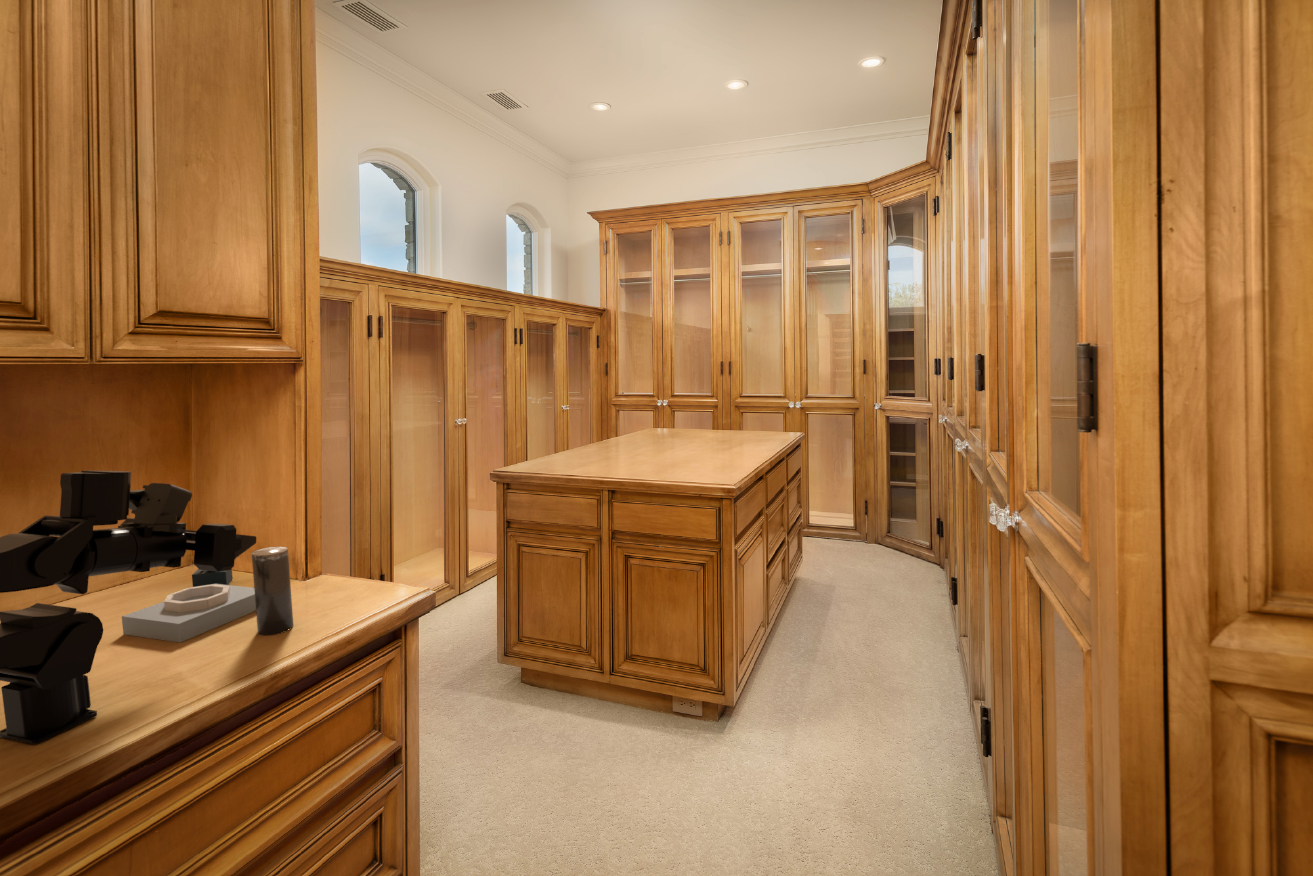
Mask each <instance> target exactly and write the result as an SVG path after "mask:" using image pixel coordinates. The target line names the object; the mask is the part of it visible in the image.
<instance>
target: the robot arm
mask: <svg viewBox="0 0 1313 876" xmlns="http://www.w3.org/2000/svg"><path fill="white" fill-rule="evenodd" d="M59 482H60V483H59V485H60V489H61V494H60V506H59V507H60V509H59V515H49V514H48V515H43V516H42V517H40V518H39V519H37V520H36V521H34V522H32V523H31V524H29V525H28V526H27V527H25V528H23V529H22V530H20V531H19V532H16V533H15V532H14V533H9V534H5V535H2V536H0V594H3V593H13V592H21V591H28V590H34V589H35V590H36V589H40V588H47V587H50V586H51V587H52V586H54V585H55V586H57V587H58V588H59V589H60V590H61V591H62V592H63V593H69V594H70V593H71V594H77V595H78V594H79V595H85V594H87V593H88V590H89V578H90V577H97V576H102V575H110V574H117V573H123V572H135V573H136V572H137V573H145V572H151V569H154V568H160V567H165V568H173V569H174V568H180V567H182V558H184V556H185V555H186V552H187V551H194V553H193V556H194V557H193V565H194V566H196V568H197V570H198V569H199V570H207V571H216V572H220V571H226V570H231V569H232V570H233V568H234V567H235V561H236V559H237V558H238V557H239V556H241V555H242V554H243V553H245V552H247V550H249V549H250V548H251V547H253V546H255V545H256V543H257V536H255V535H249V534H248V535H247V534H239V533H237V528H236V526H235V524H228V523H227V524H224V523H204V524H203V523H202V524H201V526H200V527H199V528H198V529H197V530H191V529H187V522H180V521H181V520H182V517H183V516H184V513H185V510H186V508H187V506H188V503H189V502H190V501H191V500H192V498H193V493H192V491H190V490H188V489H185V488H184V487H183V488H182V487H179V486H177V485H173V484H171V483H163V482H162V483H160V482H151V483H149V484H148V485H147V484H143V486H142V488H143V489H135V490H131V488H132V487H131V486H132V485H131V483H132V471H125V470H81V471H80V472H78V471H76V472H73V471H72V472H62V473H61V474H60V481H59ZM130 510H131V514H133V515H134V517H129V518H128V516H129V514H130ZM119 521H123V522H122V523H121V524H119V525H118V526H117V527H115V528H114V527H113V528H103V529H102V528H101V529H94V526H108V525H109V526H113V525H117V524H118V523H119ZM103 634H104V625H103V622H102V620H101V619H100V618H99V617H98V616H97V615H95V614H94V613H92V612H88V611H81V610H79V611H78V610H77V608H76V607H68V606H61V605H53V604H47V603H41V602H36V603H34V604H33V605H31V606H29V607H26V608H23V609H14V610H3V611H2V610H1V611H0V681H1V682H7V684H5V685H3V686H1V695H2V704H3V710H4V712H3V713H4V719H5V728H3V729H1V730H0V738H2V739H8V740H10V741H11V740H12V741H17V742H21V743H25V744H30V745H36V744H39V743H40V744H41V742H44V741H47V740H48V739H50V738H52V737H55V736H57V735H59V734H61V733H62V732H65V731H67V730H70V729H72V728H74V727H76V726H77V725H81V724H82V723H85V722H86V721H89V720H91V719H93V718H96V717H97V716H98V711H97V710H93V709H91V707H92V703H91V695H90V694H91V693H90V683H89V677H88V675H87V674H88V673H90V672H91V671H92V666H93V663H94V660H95V655H96V653H97V649H98V646H99V644H100V642H101V641H102V639H103Z"/></svg>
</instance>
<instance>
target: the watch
mask: <svg viewBox="0 0 1313 876" xmlns="http://www.w3.org/2000/svg"><path fill="white" fill-rule="evenodd" d="M232 579H233V580H234V578H233V568H232V569H231V570H226V571H220V572H216V571H207V570H199V569H198V568H197V570H195V572H193V573H192V574H191V581H192V587H197V586H204V585H212V584H223V585H230V584H231V583H232V582H233V581H232ZM231 581H232V582H231ZM230 582H231V583H230ZM229 583H230V584H229Z"/></svg>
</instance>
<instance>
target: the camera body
mask: <svg viewBox="0 0 1313 876" xmlns="http://www.w3.org/2000/svg"><path fill="white" fill-rule="evenodd" d="M254 612H256V603H255V591H254V587H250V586H240V585H232V584H229V585H223V584H212V585H204V586H197V587H193V586H192V587H187V588H184V589H181V590H178V591H176V592H172V593H169V594H167V596H166V597H165V599H164V601H162V602H158V603H156V604H153V605H150V606H147V607H144V608H141V609H139V610H136V611H132V612H130V613H127V614H125V615H122V616H121V625H122V634H123V635H125V636H133V637H139V638H147V639H152V640H160V641H161V640H162V641H167V642H175V643H182V642H185V641H187V640H189V639H192V638H195V637H197V636H199V635H200V636H201V634H204V633H207V632H209V631H212V630H214V629H216V628H218V627H221V626H223V625H226V624H228V623H230V622H232V621H235V620H237V619H240V618H243V617H244V616H247V615H249V614H251V613H254Z"/></svg>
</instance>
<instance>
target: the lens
mask: <svg viewBox="0 0 1313 876" xmlns="http://www.w3.org/2000/svg"><path fill="white" fill-rule="evenodd" d="M289 557H290V556H289V548H288V547H287V546H269V547H264V548H260V549H257V550H254V551H252V552H251V563H252V577H253V586H254V587H253V588H254V591H255V603H256V611H255V613H256V614H255V615H256V616H255V617H256V626H257V627H256V628H257V634H258V635H260V636H274V634H275V635H278V634H277V633H279V634H282V633H281V632H283V631H286V632H288V631H289V630H288V629H290V628H291V627H293V628H294V616H293V615H294V614H293V613H294V612H293V599H292V587H291V584H292V583H291V574H290V559H289ZM287 630H288V631H287ZM290 630H291V629H290ZM283 633H284V632H283Z"/></svg>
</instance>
